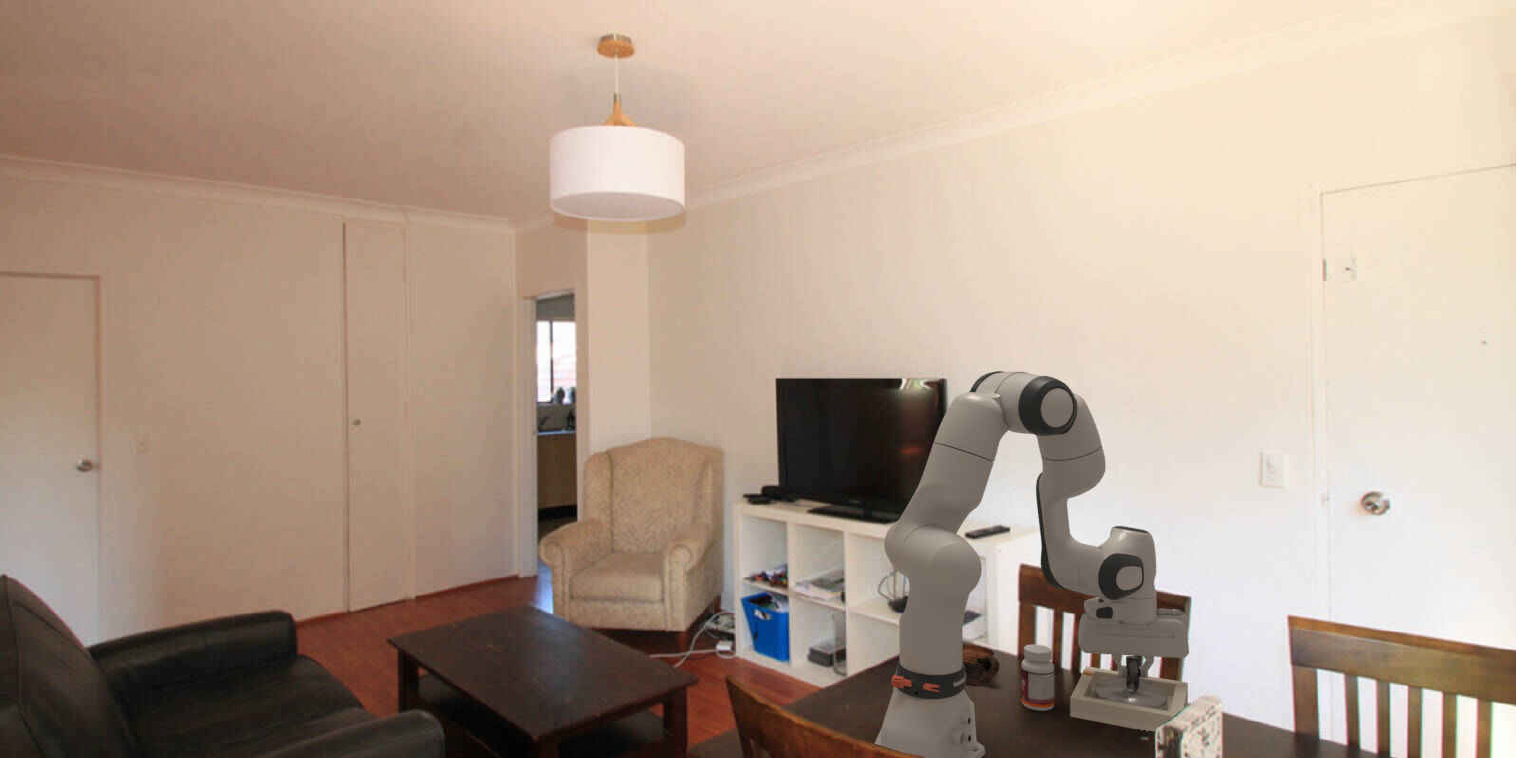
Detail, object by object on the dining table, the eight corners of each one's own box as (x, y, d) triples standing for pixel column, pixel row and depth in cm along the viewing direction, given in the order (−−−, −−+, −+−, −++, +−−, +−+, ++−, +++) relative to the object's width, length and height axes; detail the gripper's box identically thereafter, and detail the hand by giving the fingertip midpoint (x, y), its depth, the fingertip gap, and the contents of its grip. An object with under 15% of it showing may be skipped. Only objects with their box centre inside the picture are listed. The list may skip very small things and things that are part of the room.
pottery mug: (941, 680, 178) (946, 641, 181) (972, 692, 181) (977, 654, 185) (983, 682, 168) (987, 642, 171) (1014, 695, 172) (1019, 655, 175)
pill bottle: (1021, 697, 166) (1021, 642, 166) (1054, 701, 164) (1053, 644, 164) (1021, 709, 160) (1020, 652, 160) (1054, 713, 158) (1054, 655, 158)
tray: (1182, 737, 147) (1181, 715, 147) (1070, 716, 157) (1070, 695, 157) (1187, 700, 164) (1187, 680, 163) (1086, 683, 173) (1086, 663, 173)
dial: (1164, 719, 151) (1164, 682, 151) (1089, 706, 158) (1089, 669, 158) (1169, 695, 162) (1169, 660, 162) (1099, 683, 169) (1099, 649, 169)
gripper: (1183, 605, 165) (1183, 673, 165) (1076, 600, 169) (1076, 667, 169) (1193, 614, 159) (1194, 685, 159) (1082, 609, 163) (1082, 679, 163)
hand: (1132, 676), depth 164 cm, fingers closed on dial, 2 cm apart
